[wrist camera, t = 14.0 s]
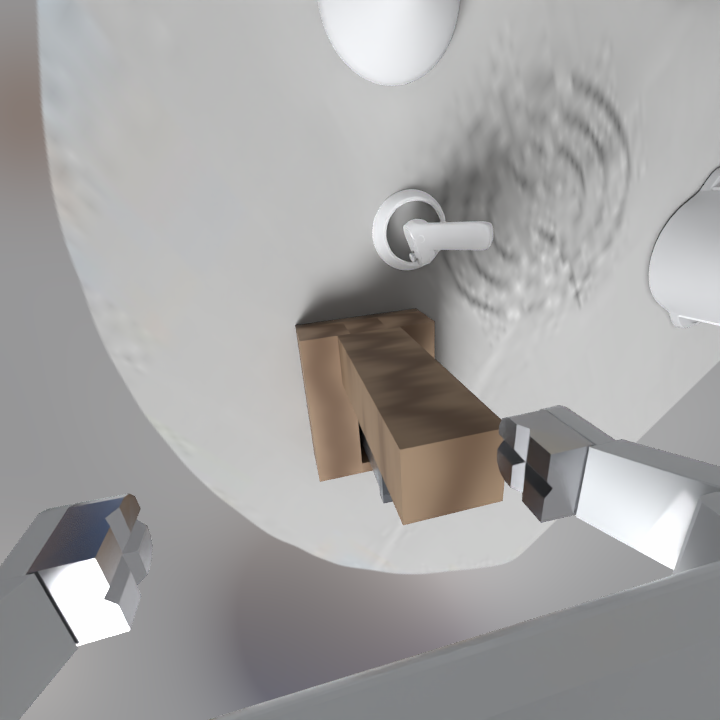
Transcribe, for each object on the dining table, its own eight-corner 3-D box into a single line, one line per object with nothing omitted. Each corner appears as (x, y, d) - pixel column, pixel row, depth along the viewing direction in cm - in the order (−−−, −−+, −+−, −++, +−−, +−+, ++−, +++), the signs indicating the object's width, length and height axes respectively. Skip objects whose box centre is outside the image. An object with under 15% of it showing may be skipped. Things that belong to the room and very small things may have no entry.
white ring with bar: (524, 243, 36) (496, 289, 33) (415, 246, 43) (383, 284, 40) (514, 162, 31) (480, 206, 28) (394, 181, 39) (356, 218, 36)
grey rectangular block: (375, 378, 42) (405, 426, 33) (379, 439, 46) (407, 497, 37) (353, 382, 42) (378, 432, 33) (359, 443, 45) (383, 503, 36)
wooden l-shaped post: (415, 308, 41) (568, 414, 21) (418, 433, 48) (536, 610, 27) (295, 325, 39) (330, 464, 18) (314, 453, 45) (356, 665, 25)
